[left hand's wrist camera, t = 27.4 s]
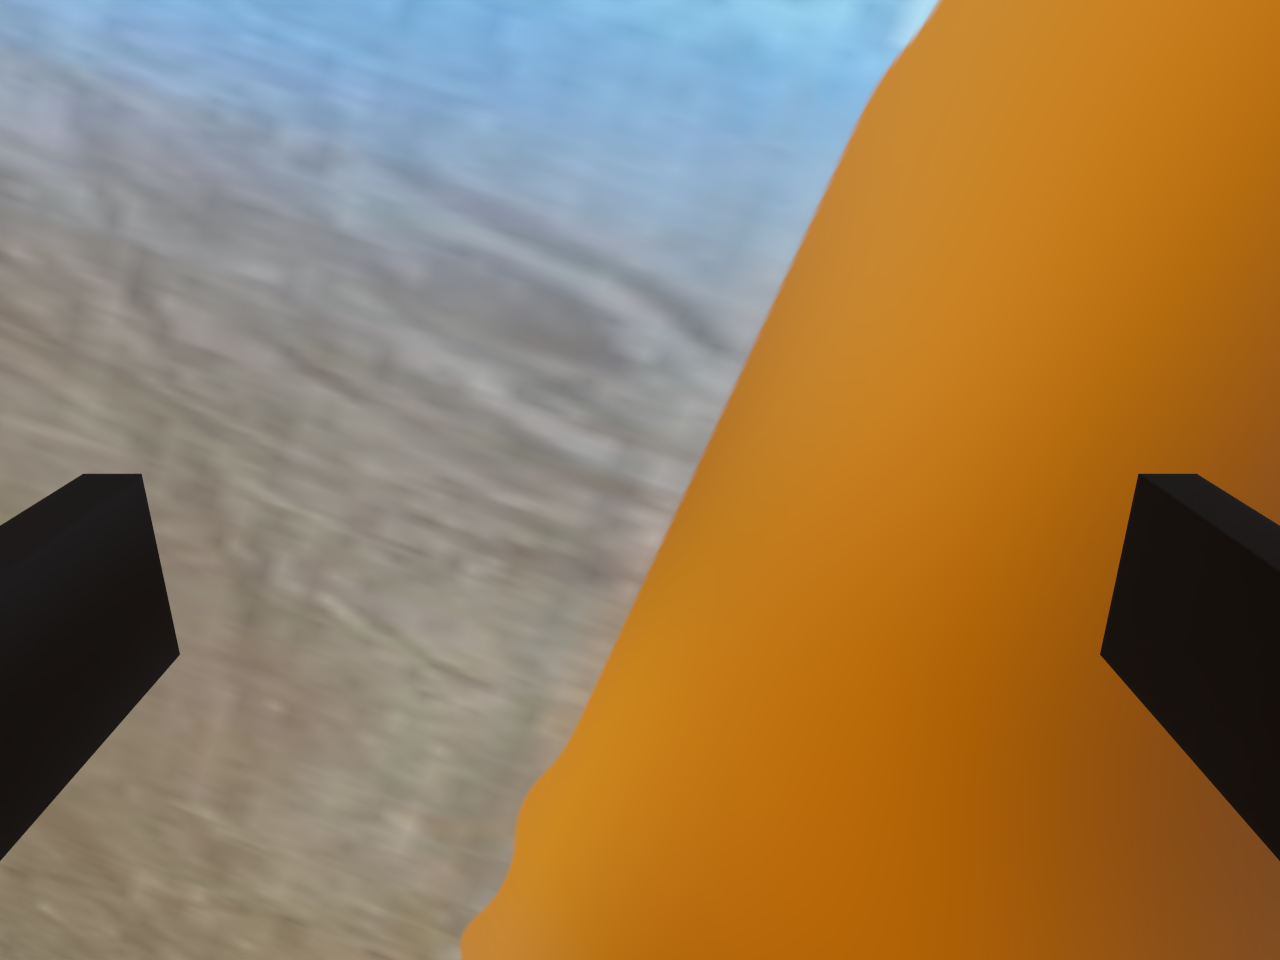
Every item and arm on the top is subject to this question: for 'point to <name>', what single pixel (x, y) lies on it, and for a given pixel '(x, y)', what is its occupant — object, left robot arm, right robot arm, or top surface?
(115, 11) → the top surface
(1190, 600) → the left robot arm
